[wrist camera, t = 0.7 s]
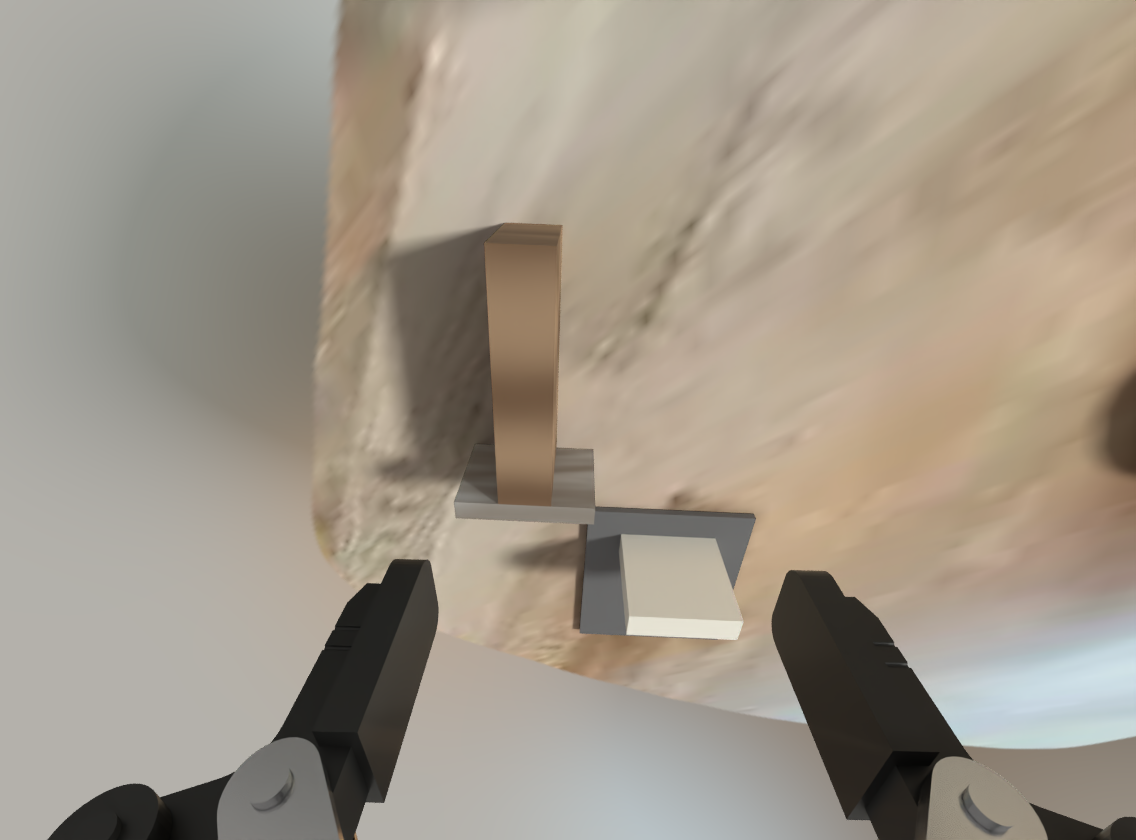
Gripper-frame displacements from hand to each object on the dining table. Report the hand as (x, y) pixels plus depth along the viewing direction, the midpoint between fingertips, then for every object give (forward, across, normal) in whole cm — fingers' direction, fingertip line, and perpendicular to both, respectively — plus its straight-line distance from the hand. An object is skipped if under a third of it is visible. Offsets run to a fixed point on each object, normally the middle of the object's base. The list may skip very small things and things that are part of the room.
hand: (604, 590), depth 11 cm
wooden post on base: (+19, +3, +1) cm, 19 cm away
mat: (+19, -6, +20) cm, 29 cm away
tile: (+19, -6, +16) cm, 26 cm away
